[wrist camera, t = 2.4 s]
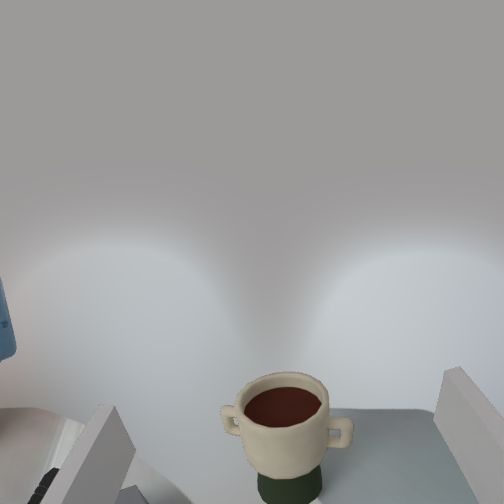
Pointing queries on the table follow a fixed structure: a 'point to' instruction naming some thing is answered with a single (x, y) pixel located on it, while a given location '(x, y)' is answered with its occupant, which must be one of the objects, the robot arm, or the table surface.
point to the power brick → (130, 496)
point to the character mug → (286, 434)
